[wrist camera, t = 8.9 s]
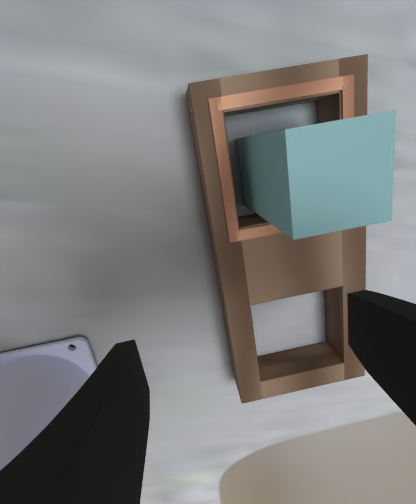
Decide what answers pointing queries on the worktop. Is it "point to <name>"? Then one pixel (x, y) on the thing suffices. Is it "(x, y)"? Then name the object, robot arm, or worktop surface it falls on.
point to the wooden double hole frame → (272, 239)
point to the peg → (321, 175)
